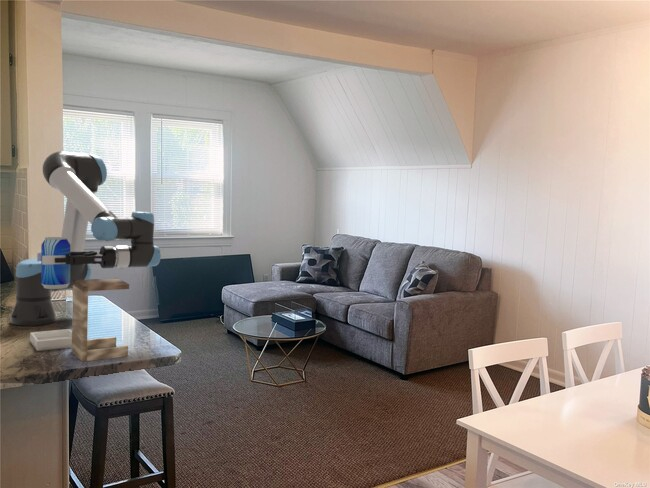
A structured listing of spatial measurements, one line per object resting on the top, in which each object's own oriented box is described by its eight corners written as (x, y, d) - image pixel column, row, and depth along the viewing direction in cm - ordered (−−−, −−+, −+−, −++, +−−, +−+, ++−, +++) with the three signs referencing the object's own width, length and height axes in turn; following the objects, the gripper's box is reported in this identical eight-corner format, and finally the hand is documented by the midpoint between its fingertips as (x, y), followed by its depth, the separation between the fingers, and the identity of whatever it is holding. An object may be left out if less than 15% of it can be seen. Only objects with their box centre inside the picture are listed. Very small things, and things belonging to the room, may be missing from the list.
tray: (30, 341, 182) (30, 332, 182) (69, 337, 190) (70, 328, 190) (37, 350, 173) (37, 341, 172) (78, 346, 180) (79, 337, 180)
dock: (81, 361, 165) (83, 286, 163) (71, 350, 175) (72, 279, 173) (127, 355, 173) (129, 284, 171) (115, 345, 183) (116, 278, 181)
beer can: (49, 284, 184) (50, 236, 183) (74, 285, 184) (75, 237, 182) (35, 288, 176) (36, 238, 174) (62, 289, 175) (62, 239, 174)
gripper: (123, 272, 182) (46, 274, 168) (104, 264, 198) (33, 266, 184) (123, 249, 181) (46, 250, 167) (105, 243, 197) (33, 243, 184)
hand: (39, 258), depth 176 cm, fingers closed on beer can, 8 cm apart
